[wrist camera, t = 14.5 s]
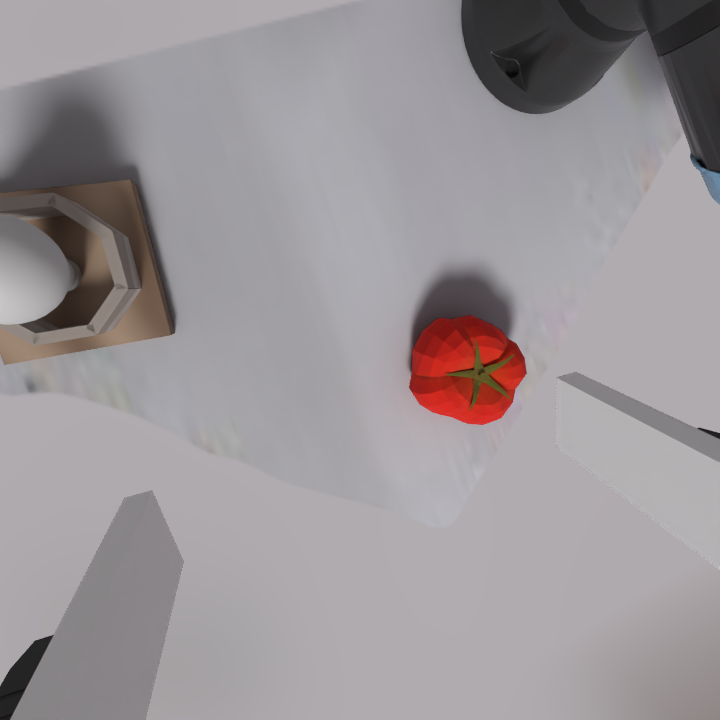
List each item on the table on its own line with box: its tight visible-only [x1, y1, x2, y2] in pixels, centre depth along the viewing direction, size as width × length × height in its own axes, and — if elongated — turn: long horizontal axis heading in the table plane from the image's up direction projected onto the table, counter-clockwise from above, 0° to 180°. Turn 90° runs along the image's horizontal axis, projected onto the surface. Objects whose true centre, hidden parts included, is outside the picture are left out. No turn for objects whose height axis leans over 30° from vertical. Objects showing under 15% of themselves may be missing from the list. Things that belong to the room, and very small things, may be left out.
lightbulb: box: [0, 215, 82, 325], centre depth 25 cm, size 6×6×11 cm
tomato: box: [409, 315, 527, 425], centre depth 38 cm, size 10×11×7 cm
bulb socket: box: [0, 180, 175, 365], centre depth 30 cm, size 12×12×5 cm
